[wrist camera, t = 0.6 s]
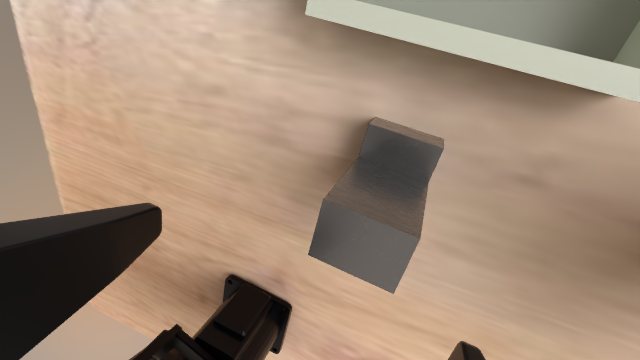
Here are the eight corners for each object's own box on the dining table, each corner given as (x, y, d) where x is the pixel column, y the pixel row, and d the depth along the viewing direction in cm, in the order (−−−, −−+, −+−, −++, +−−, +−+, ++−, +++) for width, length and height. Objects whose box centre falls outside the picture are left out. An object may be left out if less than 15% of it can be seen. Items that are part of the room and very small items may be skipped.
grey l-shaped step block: (411, 212, 19) (393, 294, 13) (352, 189, 20) (307, 254, 14) (444, 139, 17) (441, 194, 11) (375, 116, 18) (335, 155, 12)
